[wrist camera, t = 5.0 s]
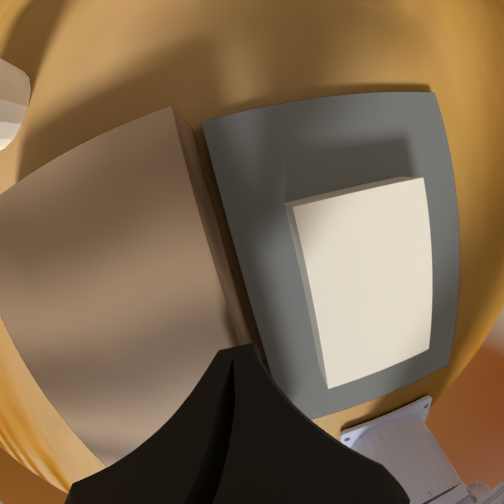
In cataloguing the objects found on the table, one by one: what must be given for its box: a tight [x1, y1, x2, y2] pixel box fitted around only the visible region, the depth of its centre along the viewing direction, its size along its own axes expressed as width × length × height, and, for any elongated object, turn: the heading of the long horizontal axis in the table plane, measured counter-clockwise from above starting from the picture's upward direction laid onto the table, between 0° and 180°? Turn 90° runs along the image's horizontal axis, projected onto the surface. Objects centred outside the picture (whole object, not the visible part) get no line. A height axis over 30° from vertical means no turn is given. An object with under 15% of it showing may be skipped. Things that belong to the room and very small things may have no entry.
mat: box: [201, 92, 460, 420], centre depth 13 cm, size 18×12×1 cm
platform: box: [0, 106, 253, 467], centre depth 12 cm, size 18×12×4 cm, turn 14°
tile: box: [284, 177, 432, 389], centre depth 12 cm, size 9×6×2 cm, turn 15°
